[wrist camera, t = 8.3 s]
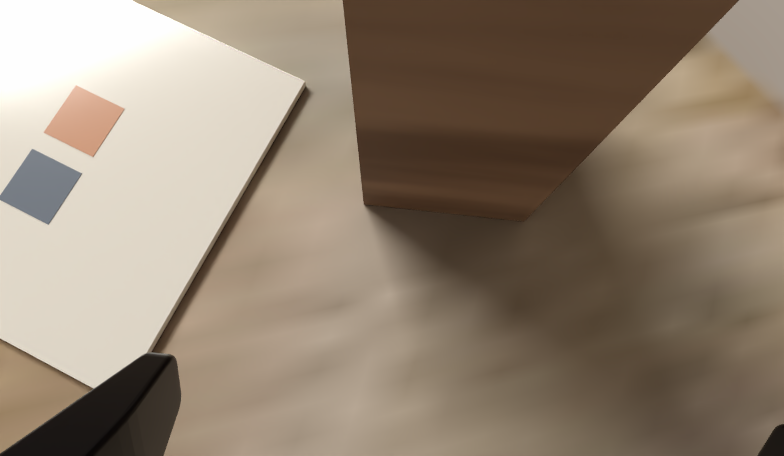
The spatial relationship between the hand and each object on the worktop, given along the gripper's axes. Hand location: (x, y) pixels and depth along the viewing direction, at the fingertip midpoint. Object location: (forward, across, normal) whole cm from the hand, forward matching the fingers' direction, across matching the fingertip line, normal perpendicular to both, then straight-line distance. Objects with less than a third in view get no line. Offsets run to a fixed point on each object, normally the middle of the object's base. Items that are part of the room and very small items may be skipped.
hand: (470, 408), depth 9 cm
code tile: (+10, +12, +2) cm, 16 cm away
